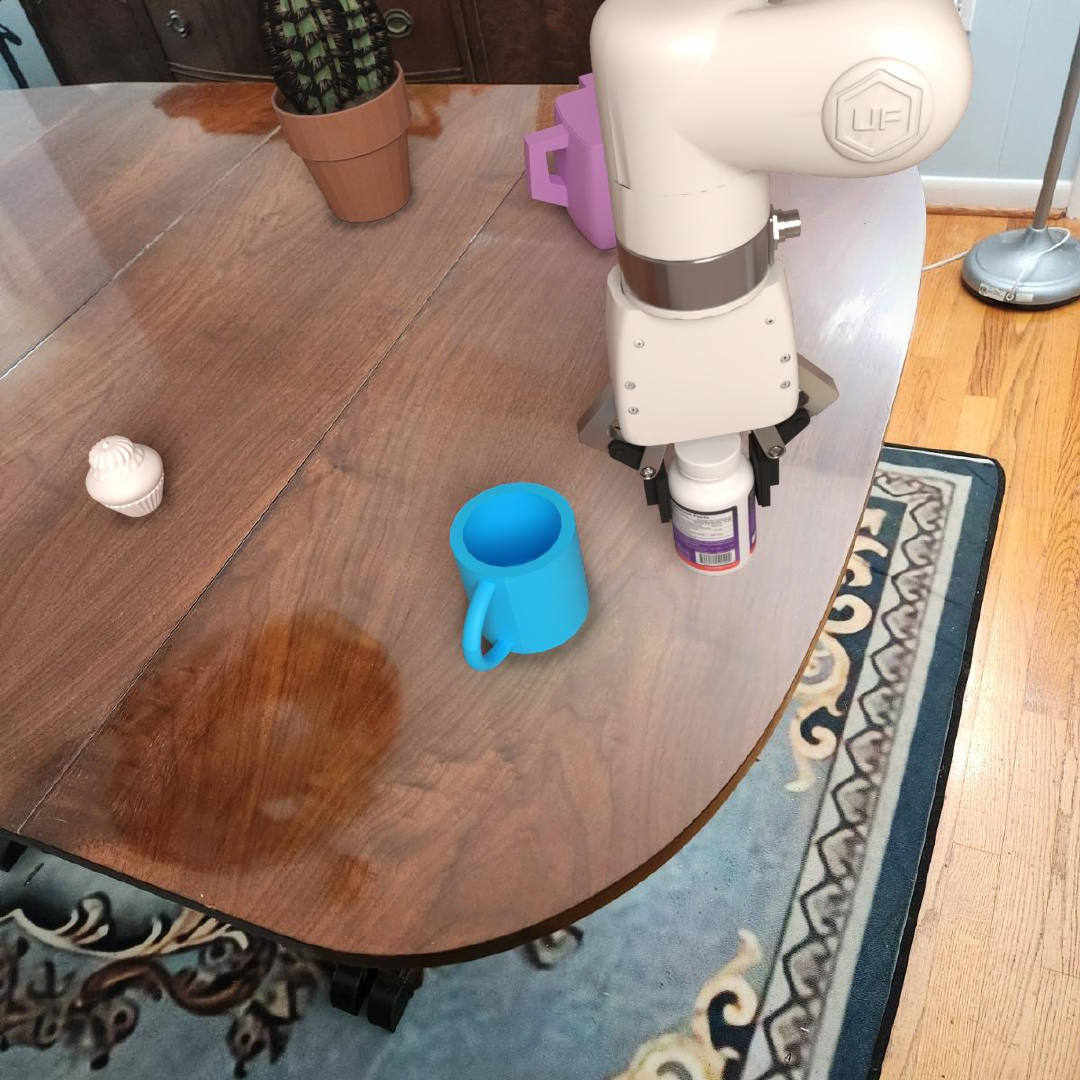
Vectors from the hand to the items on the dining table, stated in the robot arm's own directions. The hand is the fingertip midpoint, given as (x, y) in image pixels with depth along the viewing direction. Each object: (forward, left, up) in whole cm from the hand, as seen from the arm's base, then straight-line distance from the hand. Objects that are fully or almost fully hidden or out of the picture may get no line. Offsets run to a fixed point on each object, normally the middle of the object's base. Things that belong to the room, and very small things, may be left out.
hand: (711, 496), depth 63 cm
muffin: (+45, -16, -8) cm, 48 cm away
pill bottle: (0, 0, -5) cm, 5 cm away
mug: (+14, +2, -8) cm, 16 cm away
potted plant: (+28, -59, -8) cm, 66 cm away
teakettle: (0, -49, -8) cm, 50 cm away
